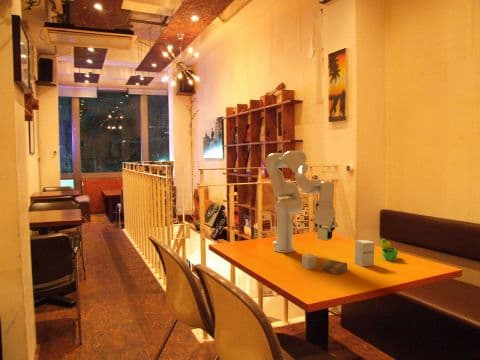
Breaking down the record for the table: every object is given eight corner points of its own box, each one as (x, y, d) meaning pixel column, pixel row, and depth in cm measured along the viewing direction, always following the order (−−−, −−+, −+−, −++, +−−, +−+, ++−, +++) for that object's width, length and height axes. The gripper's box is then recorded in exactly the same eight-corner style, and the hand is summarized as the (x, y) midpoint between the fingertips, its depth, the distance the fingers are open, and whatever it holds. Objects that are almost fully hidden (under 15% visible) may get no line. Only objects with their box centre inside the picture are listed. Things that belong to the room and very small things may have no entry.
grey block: (301, 266, 199) (301, 255, 198) (310, 265, 201) (310, 254, 201) (308, 269, 194) (308, 257, 193) (316, 268, 196) (317, 256, 196)
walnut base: (320, 271, 191) (320, 263, 191) (328, 267, 199) (329, 259, 199) (338, 275, 185) (339, 267, 185) (347, 270, 193) (347, 263, 192)
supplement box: (362, 267, 198) (362, 243, 197) (354, 263, 205) (354, 240, 204) (374, 266, 200) (375, 242, 199) (366, 262, 207) (366, 239, 206)
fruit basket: (398, 261, 208) (399, 241, 208) (381, 260, 210) (381, 240, 209) (394, 256, 220) (394, 237, 219) (378, 255, 221) (378, 236, 221)
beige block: (317, 238, 204) (317, 228, 204) (322, 237, 208) (323, 226, 208) (326, 240, 200) (326, 229, 200) (331, 239, 204) (332, 228, 204)
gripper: (308, 202, 206) (307, 235, 207) (336, 207, 194) (335, 241, 195) (316, 201, 211) (314, 233, 213) (344, 205, 199) (342, 239, 201)
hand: (324, 237), depth 204 cm, fingers closed on beige block, 5 cm apart
